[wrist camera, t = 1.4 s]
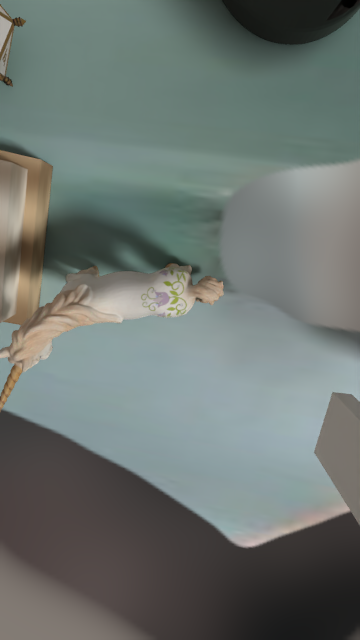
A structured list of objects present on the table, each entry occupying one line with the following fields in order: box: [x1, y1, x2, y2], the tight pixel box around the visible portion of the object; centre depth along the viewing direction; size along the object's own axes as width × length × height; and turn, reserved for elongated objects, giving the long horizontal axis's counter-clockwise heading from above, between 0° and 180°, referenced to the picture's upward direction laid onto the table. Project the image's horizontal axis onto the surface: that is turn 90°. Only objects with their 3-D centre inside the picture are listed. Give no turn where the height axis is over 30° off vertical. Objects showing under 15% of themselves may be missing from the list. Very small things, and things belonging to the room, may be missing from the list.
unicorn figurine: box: [0, 263, 223, 411], centre depth 27 cm, size 7×20×13 cm, turn 111°
